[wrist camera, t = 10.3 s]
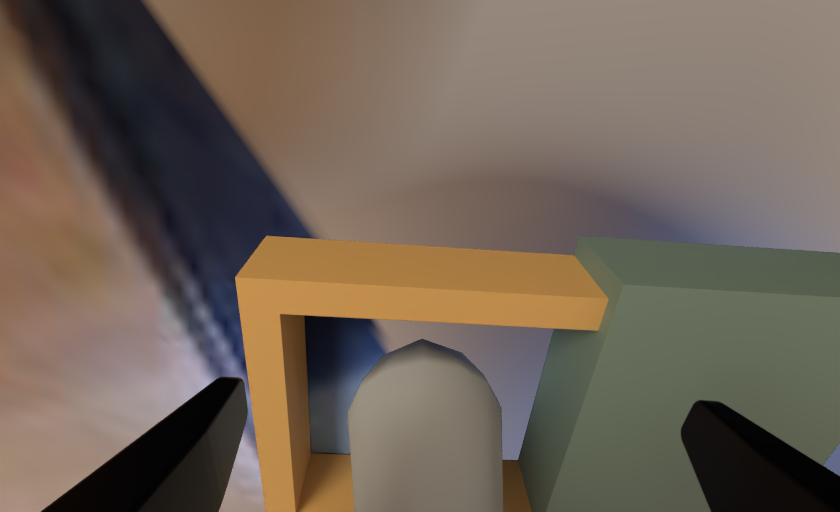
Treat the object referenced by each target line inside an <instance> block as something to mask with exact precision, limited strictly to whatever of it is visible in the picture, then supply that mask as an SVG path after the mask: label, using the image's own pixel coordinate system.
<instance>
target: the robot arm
mask: <svg viewBox="0 0 840 512" xmlns="http://www.w3.org/2000/svg"><path fill="white" fill-rule="evenodd" d="M247 414H248V408H247V400H246V393H245V386H244V382H243V380H242V379H241V378H238V377H220V378H218V379H216V380H215V381H213V382H212V383H211V384H209V385H208V386H207V387H205V388H204V389H203V390H201V391H200V392H199V393H197V394H196V395H195V396H193V397H192V398H191V399H189V400H188V401H187V402H185V403H184V404H183V405H182V406H180V407H179V408H178V409H176V410H175V411H174V412H172V413H171V414H170V415H168V416H167V417H166V418H164V419H163V420H162V421H160V422H159V423H158V424H156V425H155V426H154V427H152V428H151V429H150V430H148V431H147V432H146V433H144V434H143V435H142V436H140V437H139V438H138V439H136V440H135V441H134V442H132V443H131V444H130V445H128V446H127V447H126V448H124V449H123V450H122V451H120V452H119V453H118V454H116V455H115V456H114V457H112V458H111V459H110V460H109V461H107V462H106V463H105V464H103V465H102V466H101V467H99V468H98V469H97V470H95V471H94V472H93V473H91V474H90V475H89V476H87V477H86V478H85V479H83V480H82V481H81V482H79V483H78V484H77V485H75V486H74V487H73V488H71V489H70V490H69V491H67V492H66V493H65V494H63V495H62V496H61V497H59V498H58V499H57V500H55V501H54V502H53V503H51V504H50V505H49V506H47V507H46V508H45V509H43V510H42V511H41V512H218V511H219V509H220V506H221V504H222V501H223V498H224V494H225V491H226V488H227V485H228V481H229V478H230V475H231V471H232V468H233V464H234V461H235V458H236V454H237V451H238V448H239V444H240V441H241V437H242V434H243V431H244V427H245V424H246V420H247ZM681 439H682V442H683V445H684V447H685V450H686V452H687V454H688V457H689V459H690V462H691V464H692V467H693V469H694V472H695V474H696V477H697V479H698V481H699V484H700V486H701V489H702V491H703V494H704V496H705V499H706V501H707V503H708V506H709V508H710V510H711V512H840V476H838V475H837V474H835V473H834V472H832V471H830V470H828V469H827V468H826V467H824V466H822V465H821V464H819V463H818V462H816V461H814V460H813V459H811V458H810V457H808V456H806V455H805V454H803V453H802V452H800V451H798V450H797V449H795V448H794V447H792V446H790V445H789V444H787V443H786V442H784V441H782V440H781V439H779V438H778V437H776V436H774V435H773V434H771V433H770V432H768V431H766V430H765V429H763V428H762V427H760V426H758V425H757V424H755V423H754V422H752V421H750V420H749V419H747V418H746V417H744V416H743V415H741V414H739V413H738V412H736V411H735V410H733V409H731V408H730V407H728V406H727V405H725V404H723V403H722V402H719V401H714V400H697V401H696V402H695V403H694V404H693V405H692V407H691V409H690V411H689V413H688V415H687V417H686V419H685V421H684V423H683V425H682V427H681Z"/></svg>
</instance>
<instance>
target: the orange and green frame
mask: <svg viewBox="0 0 840 512" xmlns="http://www.w3.org/2000/svg"><path fill="white" fill-rule="evenodd" d="M235 280H236V288H237V295H238V303H239V311H240V318H241V326H242V334H243V342H244V349H245V357H246V365H247V372H248V380H249V388H250V395H251V403H252V411H253V419H254V426H255V434H256V442H257V449H258V457H259V465H260V472H261V480H262V488H263V496H264V503H265V511H266V512H354V498H353V481H352V467H351V455H346V454H316V453H311V442H310V422H309V401H308V380H307V360H306V339H305V318H304V315H309V316H328V317H347V318H366V319H385V320H404V321H424V322H442V323H461V324H462V323H463V324H481V325H499V326H518V327H537V328H554V331H553V334H552V338H551V342H550V345H549V349H548V353H547V356H546V360H545V364H544V367H543V371H542V375H541V378H540V382H539V386H538V389H537V393H536V396H535V400H534V404H533V408H532V411H531V415H530V418H529V422H528V426H527V430H526V433H525V437H524V440H523V444H522V448H521V451H520V455H519V459H518V460H502V472H503V512H711V510H710V508H709V506H708V503H707V501H706V499H705V496H704V494H703V491H702V489H701V486H700V484H699V481H698V479H697V477H696V474H695V472H694V469H693V467H692V464H691V462H690V459H689V457H688V454H687V452H686V450H685V447H684V445H683V442H682V439H681V427H682V425H683V423H684V421H685V419H686V417H687V415H688V413H689V411H690V409H691V407H692V405H693V404H694V403H695V402H696V401H697V400H714V401H719V402H722V403H723V404H725V405H727V406H728V407H730V408H731V409H733V410H735V411H736V412H738V413H739V414H741V415H743V416H744V417H746V418H747V419H749V420H750V421H752V422H754V423H755V424H757V425H758V426H760V427H762V428H763V429H765V430H766V431H768V432H770V433H771V434H773V435H774V436H776V437H778V438H779V439H781V440H782V441H784V442H786V443H787V444H789V445H790V446H792V447H794V448H795V449H797V450H798V451H800V452H802V453H803V454H805V455H806V456H808V457H810V458H811V459H813V460H814V461H816V462H818V463H819V464H821V465H822V466H823V464H824V463H825V462H826V461H827V459H828V458H829V457H830V455H831V454H832V453H833V451H834V450H835V449H836V447H837V446H838V445H839V443H840V253H833V252H818V251H803V250H788V249H773V248H758V247H743V246H728V245H727V246H726V245H712V244H698V243H682V242H667V241H651V240H637V239H622V238H607V237H592V236H579V239H578V243H577V246H576V250H575V254H574V255H560V254H543V253H528V252H512V251H496V250H481V249H465V248H450V247H434V246H418V245H401V244H387V243H386V244H385V243H370V242H369V243H368V242H355V241H339V240H324V239H308V238H292V237H276V236H266V237H265V238H264V240H263V241H262V242H261V244H260V245H259V246H258V248H257V249H256V250H255V252H254V253H253V254H252V256H251V257H250V258H249V260H248V261H247V262H246V264H245V265H244V266H243V268H242V269H241V270H240V272H239V273H238V274H237V276H236V277H235Z"/></svg>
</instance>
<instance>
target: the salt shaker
mask: <svg viewBox="0 0 840 512" xmlns="http://www.w3.org/2000/svg"><path fill="white" fill-rule="evenodd" d="M347 416H348V429H349V442H350V454H351V467H352V481H353V498H354V512H503V472H502V420H501V407H500V404H499V402H498V400H497V398H496V397H495V394H494V393H493V391H492V389H491V387H490V385H489V384H488V382H487V380H486V378H485V377H484V375H483V374H482V373H481V372H480V371H479V370H478V369H477V368H476V367H475V366H474V365H473V364H472V363H471V362H470V361H469V360H468V359H467V358H466V357H465V356H464V355H463V354H462V353H461V352H458V351H455V350H453V349H450V348H447V347H444V346H441V345H438V344H435V343H432V342H430V341H427V340H424V339H420V340H418V341H416V342H414V343H411V344H409V345H406V346H404V347H402V348H399V349H397V350H395V351H392V352H390V353H388V354H385V355H383V356H382V357H381V358H380V360H379V361H378V362H377V363H376V364H375V366H374V367H373V368H372V369H371V370H370V371H369V373H368V374H367V375H366V376H365V377H364V378H363V380H362V382H361V384H360V386H359V388H358V390H357V392H356V395H355V397H354V399H353V401H352V403H351V405H350V408H349V411H348V413H347Z"/></svg>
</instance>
